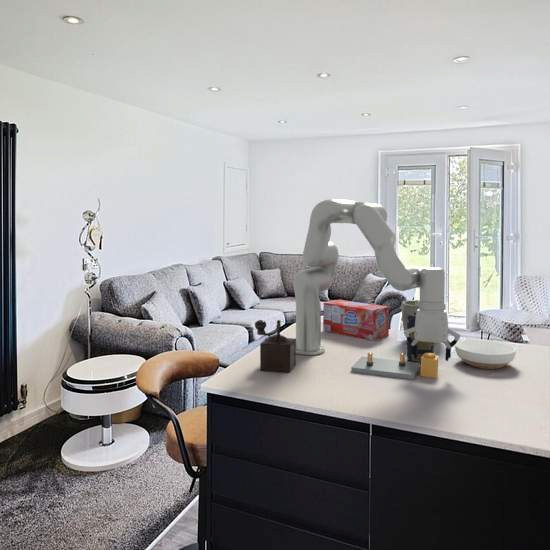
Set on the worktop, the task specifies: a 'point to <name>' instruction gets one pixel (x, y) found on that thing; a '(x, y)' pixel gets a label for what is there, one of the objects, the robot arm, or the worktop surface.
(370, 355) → the copper post
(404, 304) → the planter
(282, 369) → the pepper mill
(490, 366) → the bowl
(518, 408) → the worktop surface
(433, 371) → the yellow cube with sphere
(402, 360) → the copper post
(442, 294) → the robot arm
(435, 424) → the worktop surface
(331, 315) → the box
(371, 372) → the plate
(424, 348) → the canister
